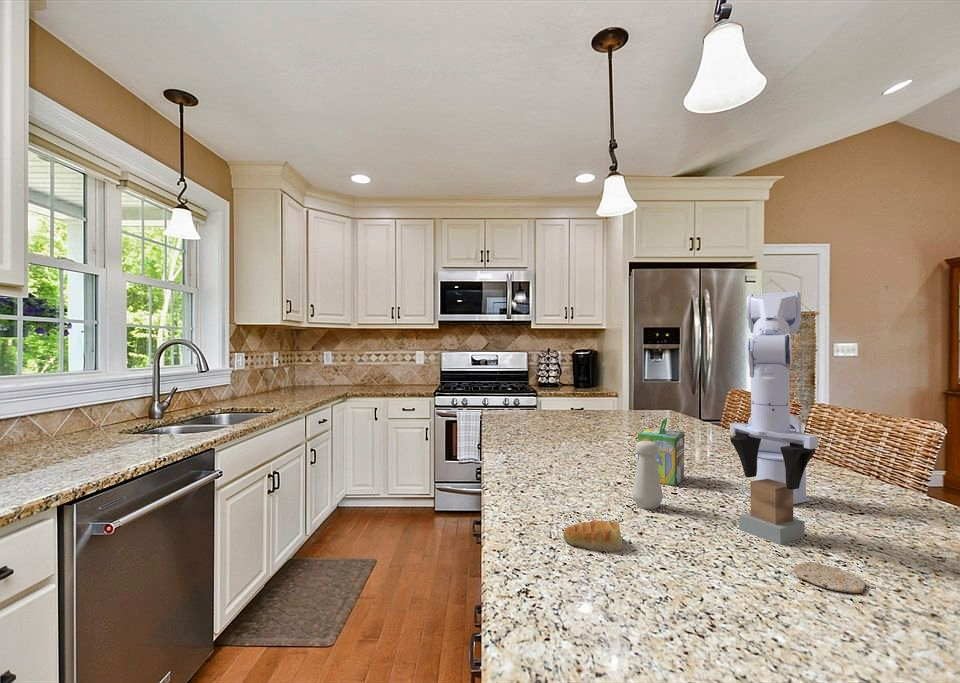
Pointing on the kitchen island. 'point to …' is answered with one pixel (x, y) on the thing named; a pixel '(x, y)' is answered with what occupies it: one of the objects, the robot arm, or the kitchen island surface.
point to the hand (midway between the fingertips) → (770, 482)
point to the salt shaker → (647, 477)
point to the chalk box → (667, 452)
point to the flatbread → (829, 577)
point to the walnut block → (771, 501)
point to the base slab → (772, 529)
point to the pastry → (595, 535)
